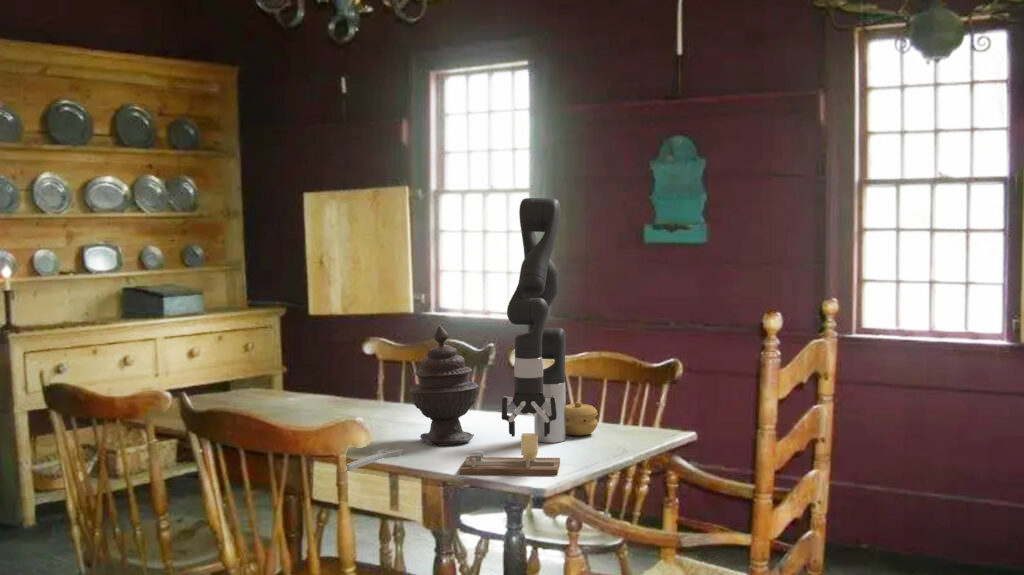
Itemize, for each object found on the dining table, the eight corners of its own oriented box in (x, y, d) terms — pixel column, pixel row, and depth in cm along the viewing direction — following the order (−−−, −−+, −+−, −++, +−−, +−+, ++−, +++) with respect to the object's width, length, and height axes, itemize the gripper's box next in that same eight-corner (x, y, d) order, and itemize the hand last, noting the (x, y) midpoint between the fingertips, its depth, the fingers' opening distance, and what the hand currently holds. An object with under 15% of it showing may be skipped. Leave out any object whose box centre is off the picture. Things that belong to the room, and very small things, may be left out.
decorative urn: (496, 436, 329) (485, 319, 325) (455, 453, 312) (443, 330, 309) (443, 432, 340) (431, 320, 337) (400, 448, 324) (388, 330, 320)
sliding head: (523, 458, 292) (522, 432, 291) (538, 459, 291) (538, 432, 291) (521, 464, 285) (520, 437, 285) (536, 464, 285) (536, 437, 284)
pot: (595, 438, 327) (595, 405, 326) (556, 437, 329) (555, 404, 329) (600, 431, 338) (599, 399, 338) (562, 430, 341) (561, 398, 340)
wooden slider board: (467, 462, 297) (466, 447, 296) (560, 463, 294) (559, 448, 294) (459, 474, 283) (459, 459, 283) (557, 475, 280) (557, 459, 280)
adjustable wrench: (347, 473, 288) (347, 466, 288) (328, 470, 292) (328, 464, 291) (406, 454, 309) (406, 448, 309) (388, 452, 313) (388, 446, 312)
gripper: (556, 372, 290) (557, 433, 291) (502, 372, 291) (503, 433, 292) (555, 376, 282) (555, 439, 283) (499, 376, 284) (500, 438, 285)
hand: (529, 436), depth 288 cm, fingers open, 8 cm apart
